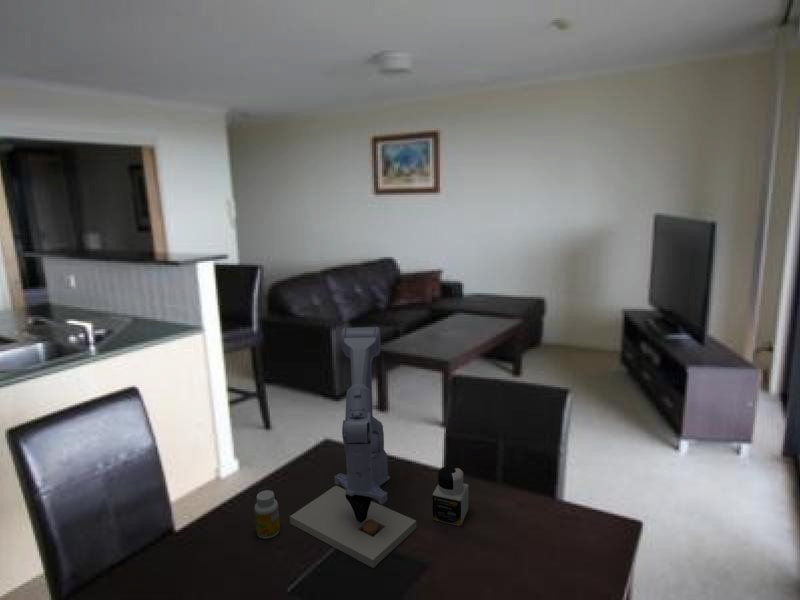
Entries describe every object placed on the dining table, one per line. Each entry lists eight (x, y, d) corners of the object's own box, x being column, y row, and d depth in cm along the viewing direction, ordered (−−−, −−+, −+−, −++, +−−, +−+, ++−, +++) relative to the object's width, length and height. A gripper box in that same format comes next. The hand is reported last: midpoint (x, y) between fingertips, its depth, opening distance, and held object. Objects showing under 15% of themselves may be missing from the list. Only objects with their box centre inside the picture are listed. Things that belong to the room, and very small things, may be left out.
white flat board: (290, 523, 125) (289, 516, 124) (336, 492, 137) (335, 485, 137) (373, 568, 109) (372, 560, 109) (416, 528, 122) (416, 520, 121)
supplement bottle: (251, 535, 121) (248, 498, 119) (267, 522, 126) (264, 486, 123) (269, 542, 118) (266, 504, 116) (284, 528, 123) (281, 491, 121)
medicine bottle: (432, 520, 125) (431, 475, 122) (441, 503, 131) (440, 460, 129) (461, 526, 122) (461, 481, 119) (468, 509, 128) (468, 465, 126)
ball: (369, 524, 123) (370, 513, 121) (380, 532, 121) (381, 521, 119) (359, 533, 120) (359, 522, 119) (370, 541, 118) (371, 530, 117)
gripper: (324, 465, 119) (327, 517, 122) (372, 485, 111) (374, 540, 114) (344, 452, 125) (347, 502, 128) (392, 470, 116) (394, 524, 119)
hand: (361, 519), depth 121 cm, fingers closed
